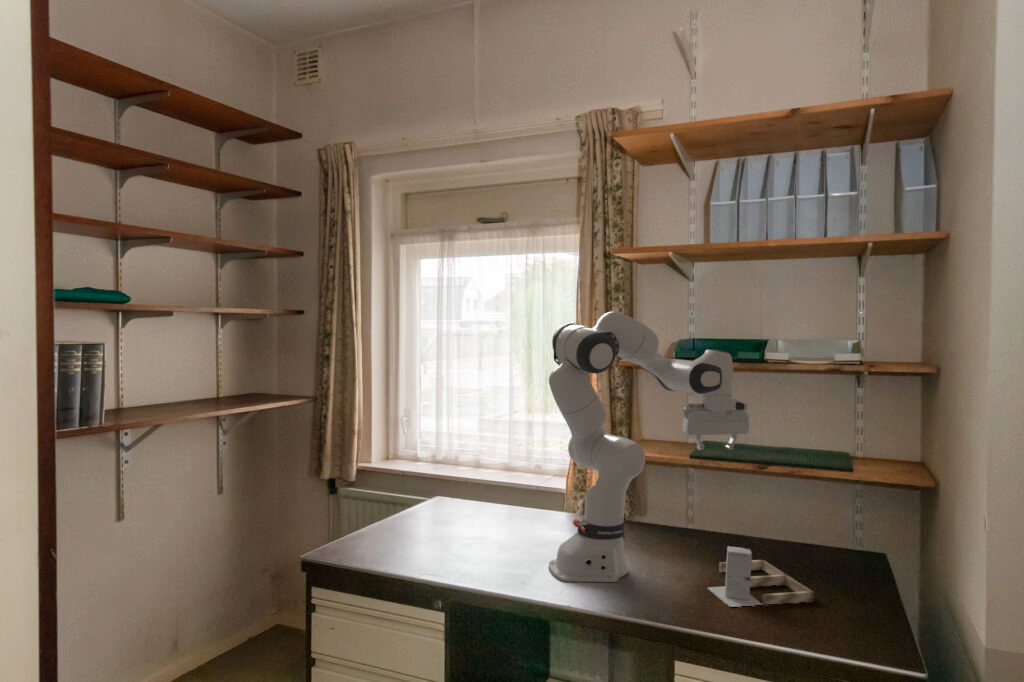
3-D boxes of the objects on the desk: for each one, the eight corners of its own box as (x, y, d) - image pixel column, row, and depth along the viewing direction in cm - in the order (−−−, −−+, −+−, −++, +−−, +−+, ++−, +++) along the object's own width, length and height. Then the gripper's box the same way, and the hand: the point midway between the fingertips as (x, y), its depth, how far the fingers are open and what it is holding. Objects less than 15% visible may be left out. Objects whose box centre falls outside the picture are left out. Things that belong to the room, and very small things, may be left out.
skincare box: (725, 597, 173) (727, 551, 172) (724, 590, 177) (726, 545, 176) (750, 600, 171) (752, 554, 170) (749, 593, 175) (750, 548, 175)
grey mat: (730, 608, 167) (730, 606, 167) (707, 588, 179) (707, 587, 179) (762, 605, 169) (763, 604, 169) (737, 586, 181) (737, 585, 181)
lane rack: (764, 605, 169) (765, 595, 169) (719, 570, 191) (719, 562, 191) (813, 601, 172) (814, 592, 172) (763, 568, 194) (763, 559, 194)
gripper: (689, 405, 195) (687, 452, 195) (752, 404, 199) (751, 450, 199) (679, 402, 201) (678, 447, 201) (741, 401, 205) (739, 446, 206)
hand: (715, 449), depth 200 cm, fingers open, 8 cm apart
